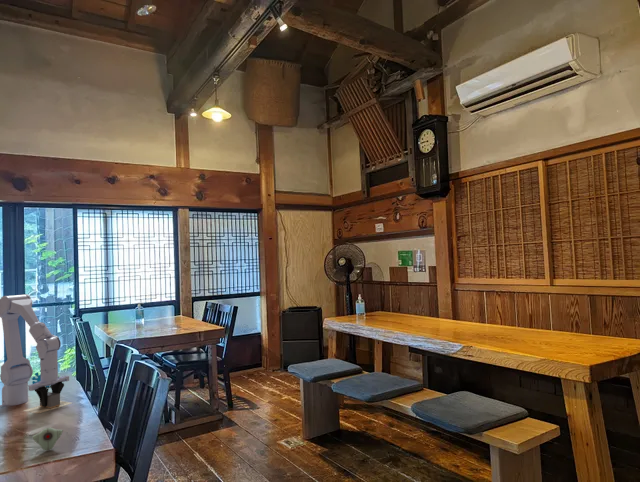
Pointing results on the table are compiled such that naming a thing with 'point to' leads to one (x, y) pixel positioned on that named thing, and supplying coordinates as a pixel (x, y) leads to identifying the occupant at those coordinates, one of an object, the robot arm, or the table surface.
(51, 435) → the robot head
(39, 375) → the gear
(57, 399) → the block
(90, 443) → the table surface
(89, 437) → the table surface
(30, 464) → the table surface
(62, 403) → the plank
